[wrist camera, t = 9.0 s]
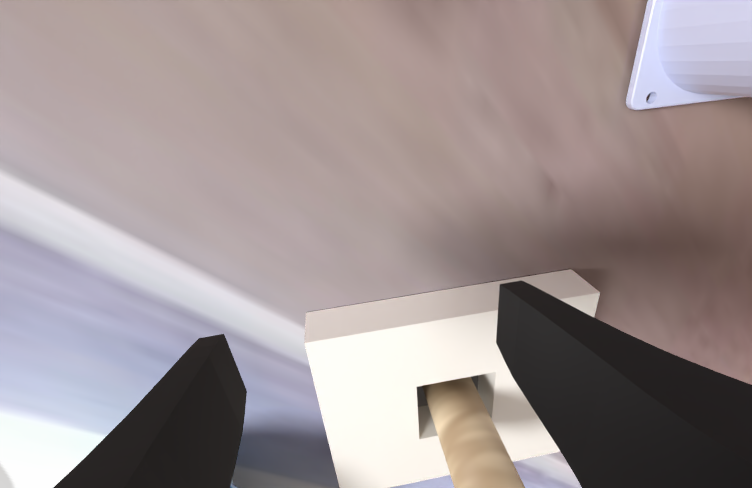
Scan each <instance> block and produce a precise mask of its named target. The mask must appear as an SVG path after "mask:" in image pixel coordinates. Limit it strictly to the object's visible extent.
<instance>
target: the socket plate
mask: <svg viewBox="0 0 752 488" xmlns="http://www.w3.org/2000/svg"><path fill="white" fill-rule="evenodd" d="M521 280H522V281H524V282H526V283H528V284H530V285H533V286H535V287H537V288H538V289H540V290H542V291H544V292H546V293H548V294H550V295H552V296H554V297H556V298H558V299H559V300H561V301H563V302H565V303H567V304H569V305H571V306H573V307H575V308H577V309H578V310H580V311H582V312H584V313H586V314H588V315H590V316H592V317H594V316H595V312H596V308H597V304H598V300H599V296H600V292H599V291H598V290H597V289H595V288H594V287H593V286H592V285H590V284H589V283H588V282H587V281H585V280H584V279H583V278H582V277H580V276H579V275H578V274H577V273H575V272H574V271H573V270H572V269H569V270H563V271H557V272H551V273H544V274H538V275H532V276H526V277H520V278H514V279H508V280H502V281H495V282H489V283H483V284H477V285H471V286H465V287H459V288H453V289H447V290H440V291H434V292H428V293H422V294H416V295H410V296H404V297H398V298H392V299H385V300H379V301H373V302H367V303H361V304H355V305H349V306H343V307H337V308H330V309H324V310H318V311H312V312H306V321H305V342H304V343H305V347H306V352H307V356H308V360H309V364H310V368H311V372H312V376H313V380H314V385H315V389H316V393H317V397H318V401H319V405H320V409H321V413H322V418H323V422H324V426H325V430H326V434H327V438H328V442H329V446H330V451H331V455H332V459H333V463H334V467H335V471H336V475H337V479H338V484H339V488H390V487H395V486H400V485H404V484H409V483H414V482H419V481H423V480H428V479H433V478H437V477H442V476H447V475H450V472H449V469H448V465H447V462H446V459H445V456H444V453H443V450H442V447H441V444H440V441H439V437H438V434H437V431H436V428H435V425H434V422H433V419H432V416H431V412H430V409H429V406H428V403H427V400H426V397H425V394H424V391H423V388H422V386H423V385H428V384H434V383H439V382H444V381H450V380H455V379H460V378H466V377H471V378H472V380H473V383H474V385H475V387H476V389H477V391H478V393H479V395H480V397H481V399H482V401H483V403H484V405H485V407H486V409H487V411H488V413H489V415H490V417H491V419H492V421H493V423H494V425H495V427H496V430H497V432H498V434H499V436H500V438H501V440H502V442H503V444H504V446H505V448H506V450H507V452H508V454H509V456H510V458H511V460H512V462H513V461H518V460H523V459H527V458H532V457H537V456H542V455H546V454H551V453H556V452H560V450H559V448H558V447H557V445H556V444H555V442H554V440H553V439H552V437H551V436H550V434H549V433H548V431H547V430H546V428H545V427H544V425H543V424H542V422H541V420H540V419H539V417H538V416H537V414H536V413H535V411H534V410H533V408H532V407H531V405H530V404H529V402H528V400H527V399H526V397H525V396H524V394H523V393H522V391H521V389H520V388H519V386H518V385H517V383H516V382H515V380H514V378H513V377H512V375H511V373H510V371H509V369H508V367H507V365H506V363H505V361H504V359H503V356H502V354H501V352H500V350H499V348H498V346H497V344H496V335H497V319H498V303H499V287H500V284H504V283H510V282H515V281H521Z"/></svg>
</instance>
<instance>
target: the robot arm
mask: <svg viewBox="0 0 752 488" xmlns="http://www.w3.org/2000/svg"><path fill="white" fill-rule="evenodd" d="M649 93H650V97H649V99H648V100H647V101H646V98H647V96H648V94H649ZM740 97H752V0H648V2H647V7H646V11H645V16H644V20H643V25H642V30H641V34H640V39H639V43H638V48H637V52H636V57H635V62H634V66H633V71H632V75H631V80H630V85H629V89H628V94H627V98H626V105H627V107H628V108H629V109H634V110H643V109H651V108H659V107H667V106H675V105H683V104H691V103H699V102H708V101H716V100H724V99H732V98H740ZM496 344H497V346H498V348H499V350H500V352H501V354H502V356H503V359H504V361H505V363H506V365H507V367H508V369H509V371H510V373H511V375H512V377H513V378H514V380H515V382H516V383H517V385H518V386H519V388H520V389H521V391H522V393H523V394H524V396H525V397H526V399H527V400H528V402H529V404H530V405H531V407H532V408H533V410H534V411H535V413H536V414H537V416H538V417H539V419H540V420H541V422H542V424H543V425H544V427H545V428H546V430H547V431H548V433H549V434H550V436H551V437H552V439H553V440H554V442H555V444H556V445H557V447H558V448H559V450H560V451H561V453H562V454H563V456H564V457H565V459H566V461H567V462H568V464H569V466H570V467H571V469H572V471H573V472H574V474H575V476H576V477H577V479H578V481H579V483H580V485H581V487H582V488H752V385H750V384H748V383H745V382H742V381H739V380H737V379H734V378H731V377H728V376H726V375H723V374H720V373H718V372H715V371H713V370H710V369H708V368H705V367H703V366H700V365H698V364H695V363H693V362H690V361H688V360H685V359H683V358H680V357H678V356H675V355H673V354H671V353H668V352H666V351H664V350H661V349H659V348H657V347H655V346H652V345H650V344H648V343H646V342H644V341H642V340H639V339H637V338H635V337H633V336H631V335H629V334H626V333H624V332H622V331H620V330H618V329H616V328H614V327H612V326H610V325H608V324H606V323H604V322H602V321H600V320H598V319H596V318H594V317H592V316H590V315H588V314H586V313H584V312H582V311H580V310H578V309H577V308H575V307H573V306H571V305H569V304H567V303H565V302H563V301H561V300H559V299H558V298H556V297H554V296H552V295H550V294H548V293H546V292H544V291H542V290H540V289H538V288H537V287H535V286H533V285H530V284H528V283H526V282H524V281H522V280H521V281H515V282H510V283H504V284H500V287H499V303H498V319H497V335H496ZM246 393H247V391H246V388H245V386H244V383H243V381H242V378H241V376H240V373H239V371H238V368H237V366H236V363H235V361H234V358H233V356H232V353H231V351H230V348H229V346H228V343H227V341H226V338H225V336H224V334H221V335H216V336H210V337H205V338H199V339H198V340H197V341H196V342H195V343H194V344H193V345H192V346H191V347H190V348H189V349H188V350H187V351H186V352H185V354H184V355H183V356H182V357H181V358H180V359H179V360H178V361H177V362H176V363H175V364H174V366H173V367H172V368H171V369H170V370H169V371H168V372H167V373H166V374H165V375H164V377H163V378H162V379H161V380H160V381H159V382H158V383H157V384H156V385H155V386H154V387H153V389H152V390H151V391H150V392H149V393H148V394H147V395H146V396H145V397H144V398H143V399H142V400H141V401H140V403H139V404H138V405H137V406H136V407H135V408H134V409H133V410H132V411H131V412H130V413H129V414H128V415H127V416H126V417H125V418H124V419H123V420H122V421H121V422H120V423H119V424H118V425H117V426H116V427H115V428H114V429H113V430H112V431H111V432H110V433H109V434H108V435H107V436H106V437H105V438H104V439H103V440H102V441H101V442H100V443H99V444H98V445H97V446H96V447H95V448H94V449H93V450H92V451H91V452H90V453H89V455H88V456H87V457H86V458H85V459H83V460H82V461H81V462H80V463H79V464H78V465H77V466H76V467H75V468H74V469H73V470H72V471H71V472H70V473H69V474H68V475H67V476H66V477H64V478H63V479H62V480H61V481H60V482H59V483H58V484H57V485H56V486H55V487H54V488H230V485H231V481H232V477H233V472H234V468H235V463H236V459H237V455H238V450H239V446H240V441H241V436H242V432H243V423H244V415H245V404H246Z"/></svg>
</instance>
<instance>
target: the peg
mask: <svg viewBox="0 0 752 488" xmlns="http://www.w3.org/2000/svg"><path fill="white" fill-rule="evenodd" d="M422 388H423V391H424V394H425V397H426V400H427V403H428V406H429V409H430V412H431V416H432V419H433V422H434V425H435V428H436V431H437V434H438V437H439V441H440V444H441V447H442V450H443V453H444V456H445V459H446V462H447V465H448V469H449V472H450V475H451V478H452V481H453V484H454V487H455V488H525V487H524V485H523V483H522V481H521V479H520V477H519V475H518V472H517V470H516V468H515V466H514V464H513V462H512V460H511V458H510V456H509V454H508V452H507V450H506V448H505V446H504V444H503V442H502V440H501V438H500V436H499V434H498V432H497V430H496V427H495V425H494V423H493V421H492V419H491V417H490V415H489V413H488V411H487V409H486V407H485V405H484V403H483V401H482V399H481V397H480V395H479V393H478V391H477V389H476V387H475V385H474V383H473V380H472V378H471V377H466V378H460V379H455V380H450V381H444V382H439V383H434V384H428V385H423V386H422Z"/></svg>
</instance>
